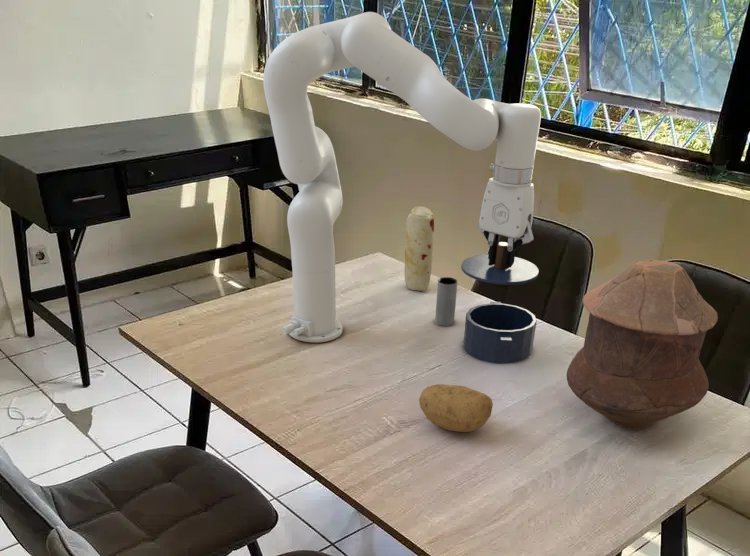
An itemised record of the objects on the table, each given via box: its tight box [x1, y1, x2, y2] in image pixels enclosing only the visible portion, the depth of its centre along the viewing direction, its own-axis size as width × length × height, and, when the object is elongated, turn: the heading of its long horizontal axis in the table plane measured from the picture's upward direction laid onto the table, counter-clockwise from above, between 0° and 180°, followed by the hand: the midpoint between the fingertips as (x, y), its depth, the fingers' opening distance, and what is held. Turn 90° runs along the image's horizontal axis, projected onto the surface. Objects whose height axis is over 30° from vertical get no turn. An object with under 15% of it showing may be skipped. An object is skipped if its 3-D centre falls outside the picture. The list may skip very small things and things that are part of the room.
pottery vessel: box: [566, 259, 719, 431], centre depth 142 cm, size 26×26×30 cm
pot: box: [463, 301, 537, 365], centre depth 172 cm, size 15×21×8 cm
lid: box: [460, 241, 540, 286], centre depth 162 cm, size 16×16×6 cm
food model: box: [404, 205, 435, 292], centre depth 197 cm, size 10×7×20 cm
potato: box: [418, 383, 494, 433], centre depth 144 cm, size 10×14×8 cm
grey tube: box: [434, 276, 459, 327], centre depth 182 cm, size 4×4×10 cm
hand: (500, 265), depth 163 cm, fingers closed on lid, 2 cm apart
